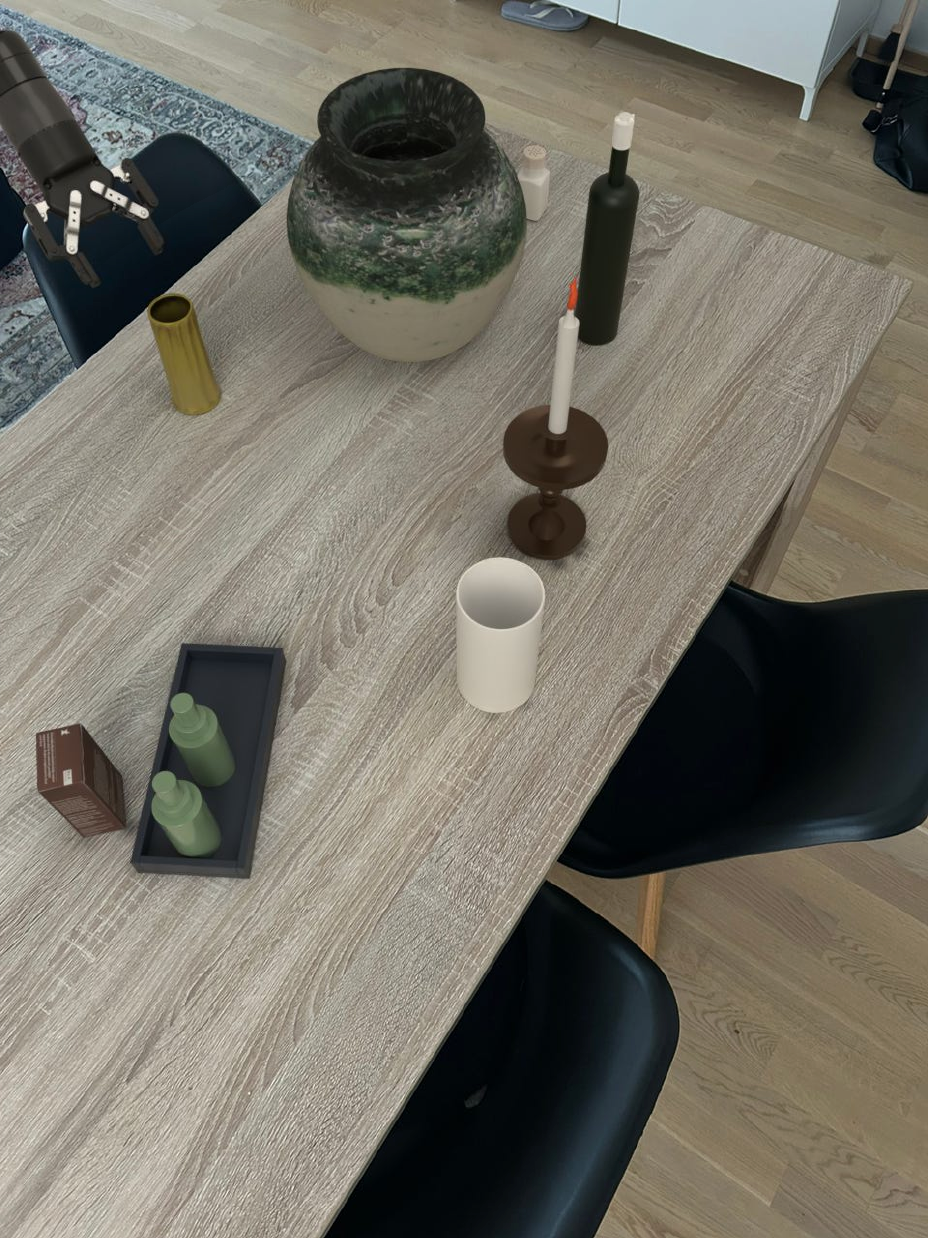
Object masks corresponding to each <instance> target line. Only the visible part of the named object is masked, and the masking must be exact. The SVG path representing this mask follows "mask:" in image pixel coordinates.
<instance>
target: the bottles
mask: <svg viewBox="0 0 928 1238" xmlns="http://www.w3.org/2000/svg"><path fill="white" fill-rule="evenodd" d="M170 705H171V708H172V710H173V712H174V716H173V718H172V720H171V722H170V725H169V734H170V737H171V739H172V740H173V742H174V744H175V746H176V748H177V750H178V752H179V753H180V755H181V757H182V759H183V761H184V763H185V764H186V766H187V768H188V770H189V772H190V774H191V776H192V777H193V779H194V780H195V781H196V782H197V783H198V784H199V785H201V786H204V787H216V786H219V785H222V784H224V783H225V782H226V781H228V780H229V779H230V777H231V776H232V775H233V773H234V770H235V758H234V756H233V754H232V751H231V749H230V747H229V744H228V742H227V740H226V738H225V735H224V733H223V731H222V729H221V726H220V724H219V722H218V719H217V717H216V715H215V714H214V712H213V711H212V710H211V709H209V708H208V707H205V706H202V705H197V704H195V702H194V700H193V698H192V696H191V695H189V694H187V693H179V694H177V695H175V696H174V697H173V698H172V700H171V704H170ZM152 787H153V789H154V791H155V792H156V794H155V795H154V798H153V800H152V805H151V809H152V814H153V816H154V818H155V819H156V821H157V822H158V824H159V825H160V827H161V828H162V830H163V831H164V833H165V834H166V836H167V837H168V839H169V840H170V842H171V843H172V845H173V846H174V848H175V849H176V851H177V852H178V854H179V855H180V856H181V857H182V858H197V859H207V858H209V857H211V856H212V855H213V854H214V853H215V852H216V851H217V850H218V848H219V846H220V844H221V839H222V833H221V829H220V827H219V825H218V824H217V822H216V820H215V818H214V816H213V814H212V812H211V811H210V809H209V807H208V805H207V803H206V801H205V799H204V798H203V796H202V794H201V792H200V790H199V789H198V787H197V786H196V785H194V784H193V783H191V782H189V781H185V780H177V779H176V777H175V775H174V774H173V773H171V772H169V771H162V772H160V773H158V774H157V775H155V777H154V778H153V780H152Z"/></svg>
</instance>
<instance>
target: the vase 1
mask: <svg viewBox="0 0 928 1238" xmlns="http://www.w3.org/2000/svg"><path fill="white" fill-rule="evenodd" d="M146 311H147V312H146V314H147V318H148V321H149V324H150V327H151V330H152V333H153V336H154V340H155V343H156V348H157V350H158V352H159V353H158V354H159V357H160V360H161V364H162V367H163V369H164V373H165V376H166V378H167V382H168V385H169V390H170V393H171V402H172V405H173V407H174V408H175V409H176V410H177V411H178V412H180V413H182V414H184V415H191V416H195V415H202V414H205V413H207V412H210V411H212V410H213V409H214V408H215V407H217V405H218V404H219V403H220V400H221V397H222V390H221V388H220V386H219V384H218V382H217V380H216V377H215V374H214V371H213V368H212V363H211V360H210V358H209V355H208V352H207V349H206V346H205V343H204V340H203V336H202V331H201V328H200V324H199V320H198V318H197V314H196V310H195V306H194V304H193V301H192V300H191V299H190V298H189V297H188V296H187V295H185V294H182V293H178V292H172V293H166V294H162V295H159V296H157V297H156V298H154V299H153V300H152V301H151V302H150V303H149V305H148V306H147V309H146Z"/></svg>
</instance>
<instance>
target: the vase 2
mask: <svg viewBox="0 0 928 1238" xmlns="http://www.w3.org/2000/svg"><path fill="white" fill-rule="evenodd" d="M485 111H486V110H485V107H484V103H483V102H482V100H481V99H480V97H479V95H478V94H477V93H476V92H475V90H473V89H472V88H471V87H469V86H468V85H467V84H466V83H464V82H463V81H461V80H459V79H457V78H456V77H453V76H450V75H448V74H445V73H443V72H440V71H436V70H431V69H426V68H417V67H391V68H383V69H376V70H373V71H368V72H365V73H361V74H359V75H357V76H354V77H351V78H349V79H348V80H345V81H343V83H341V84H339V85H337V86H336V87H335V88H334V89H333V90H331V91H330V92H329V93H328V95H327V96H326V97H325V98H324V99H323V100H322V102H321V104H320V106H319V108H318V112H317V117H316V118H317V120H316V121H317V123H316V124H317V130H318V133H319V135H320V136H319V137H318V138H317V139H316V140H315V141H314V142H313V144H312V145H311V146H310V147H309V149H308V151H306V153H305V154H304V155H303V158H302V159H301V160H300V163H299V166H298V168H297V169H296V171H295V174H294V177H293V179H292V182H291V187H290V190H289V195H288V198H287V208H286V233H287V240H288V245H289V249H290V255H291V258H292V260H293V264H294V266H295V269H296V271H297V273H298V276H299V278H300V280H301V282H302V283H303V286H304V287H305V289H306V291H307V293H308V295H309V296H310V298H311V299H312V301H313V302H314V304H315V305H316V306H317V308H318V309H319V310H320V312H321V313H322V314H323V316H324V317H325V318H326V319H327V321H328V322H329V323H330V324H331V325H332V326H333V327H334V328H335V329H336V330H337V331H338V332H339V333H340V334H341V336H343V337H344V338H346V339H347V340H348V341H349V342H350V343H352V344H353V345H355V346H356V347H357V348H359V349H361V350H363V351H364V352H366V353H368V354H371V355H373V356H375V357H377V358H381V359H384V360H388V361H393V362H400V363H420V362H421V363H423V362H426V361H427V362H428V361H432V360H437V359H441V358H443V357H445V356H446V357H447V356H449V355H451V354H452V353H455V352H457V351H458V350H459V349H461V348H463V347H464V346H466V345H468V344H469V343H470V342H471V341H472V340H473V339H475V338H476V337H477V336H478V335H479V334H480V333H481V332H482V331H483V330H484V329H485V328H486V326H487V325H488V324H489V323H490V322H491V320H492V319H493V318H494V316H495V314H496V313H497V311H499V309H500V307H501V306H502V304H503V302H504V300H506V297H507V296H508V294H509V292H510V290H511V288H512V285H514V284H513V283H514V281H515V279H516V277H517V274H518V272H519V268H520V266H521V262H522V259H523V255H524V251H525V247H526V240H527V229H528V219H527V216H526V205H525V201H524V196H523V192H522V188H521V185H520V182H519V179H518V177H517V175H518V173H517V172H516V169H515V167H514V166H513V163H511V160H510V159H509V157H508V155H507V153H506V152H505V150H504V149H503V148H502V147H501V145H499V143H497V141H496V140H495V139H494V138H493V137H492V136H491V135H490V134H489V133H488V132H487V131H486V130H484V129H485V125H486V112H485Z"/></svg>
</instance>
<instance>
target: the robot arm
mask: <svg viewBox="0 0 928 1238" xmlns="http://www.w3.org/2000/svg"><path fill="white" fill-rule="evenodd" d="M0 127H1V130H2V131H3V133H4V135H5V136H6V138H7V139H8V141H9V143H10V144H11V146H12V147H13V149H14V150H15V153H16V154H17V155H18V157H19V158H20V160H21V161H22V163H23V165H24V166H25V168H26V170H27V171H28V173H29V175H30V176H31V177H32V179H33V181H34V183H35V184H36V186H37V187H38V188H39V190H40V192H41V193H42V196H43V199H44V200H43V201H40V202H38V203H37V202H36V203H35V204H33V203H28V204H26V205H25V208H24V209H23V213H22V214H23V218H24V220H25V221H26V223H27V225H28V227H29V228H30V230H31V232H32V234H33V236H34V237H35V239H36V241H37V243H38V245H39V246H40V248H41V250H42V252H43V254H44V256H45V257H46V258H47V259H48V261H50V262H55V261H57V260H59V261H60V260H66V261H68V262H69V263H70V265H71V266H72V268H73V270H74V271H75V273H76V274H77V276H78V277H79V279H80V280H81V282H82V283H83V284H84V285H86V286H88V285H89V286H90V287H91V288H92V289H94V288H96V287H98V286H99V285H100V284H101V280H100V278H99V276H98V275H97V273H96V271H95V270H94V268H93V267H92V265H91V264H90V261H88V258H87V257H86V255H85V254H84V252H83V251H81V252H80V251H79V249H78V248H79V247H78V246H79V235H80V227H84V228H87V227H89V226H91V225H92V224H93V223H94V222H95V221H98V220H99V221H100V220H103V219H105V218H108V217H109V216H110V214H111V213H113V214H115V215H117V216H119V217H123V218H126V219H128V220H129V221H132V222H134V223H136V224H138V225H137V230H138V231H139V232H140V234H141V236H142V237H143V239H144V241H145V242H146V244H147V245H148V247H149V249H150V250H151V253H153V255H154V256H158V255H160V254H161V253H163V251H164V248H163V246H164V244H165V242H164V238H163V236H162V235H161V233H160V231H159V229H158V228H157V226H156V225H155V223H154V220H152V216H151V215H152V213H153V212H154V211H155V210H156V208H157V207H158V206H159V203H160V201H159V199H158V197H157V195H156V193H154V190H153V189H152V188H151V186H150V185H149V184H148V182H147V181H146V179H145V177H144V176H143V175H142V173H141V171H140V170H139V168H138V167H137V166H136V164H135V163H134V161H133V159H131V157H124V158H123V159H122V161H121V163H119V164H118V165H115V166H114V167H112V168H110V169H109V168H108V167H107V166H106V165H104V164H103V162H102V160H101V159H100V157H99V156H98V154H97V152H96V151H95V148H94V147H93V146H92V144H91V142H90V141H89V139H88V137H87V136H86V135H85V134H86V133H84V131H83V129H82V128H81V125H80V124H79V123H78V121H77V119H76V117H75V114H74V113H73V110H72V109H71V108H70V107H69V106H68V104H67V103H66V101H65V99H63V97H62V95H61V94H60V92H58V90H57V89H56V88H55V86H54V85H53V84H52V82H51V81H50V80H49V78H48V75H46V73H45V71H44V70H43V68H42V66H41V65H40V62H39V61H38V59H37V58H36V56H35V54H34V53H33V51H32V50H31V47H30V46H29V45H28V43H27V41H26V40H25V39H24V38H23V37H22V35H21V34H20V33H18V32H17V31H15V30H13V29H0ZM116 180H119V181H120V182H121V184H123V185H128V187H129V188H130V189H131V191H132V192H133V194H134V195H135V197H136V198H137V200H138V201H139V203H140V204H141V205H140V204H137V203H135V202H134V201H132V200H131V199H130V198H129V197H127V196H125V195H123V194H121V193H119V192H117V191H116V189H115V187H116V186H115V185H116ZM48 212H49V213H50V214H51V213H52V214H53V215H55V216H57V217H59V218H61V219H62V220H64V227H63V244H61V245H59V244H58V243H57V241H56V239H55V238H54V236H53V234H52V233H51V231H50V229H49V227H48V225H47V224H46V223H47V222H48V220H49V217H48V214H47V213H48Z"/></svg>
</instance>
